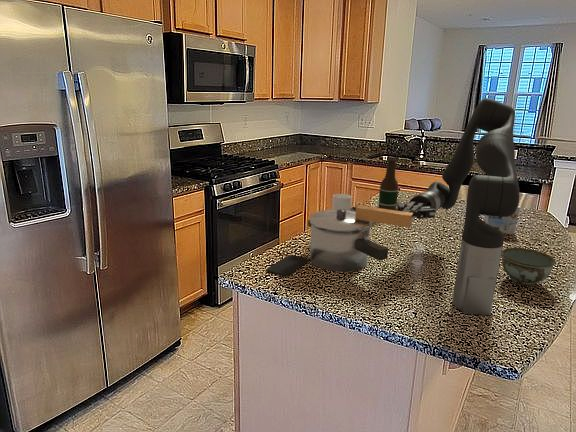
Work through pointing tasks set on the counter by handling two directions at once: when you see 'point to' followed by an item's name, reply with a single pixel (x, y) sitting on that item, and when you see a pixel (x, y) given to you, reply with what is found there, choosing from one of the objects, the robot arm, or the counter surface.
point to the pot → (343, 250)
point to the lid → (358, 219)
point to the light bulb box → (503, 222)
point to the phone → (287, 265)
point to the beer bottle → (389, 188)
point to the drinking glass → (341, 202)
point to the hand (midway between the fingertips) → (403, 216)
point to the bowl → (526, 265)
